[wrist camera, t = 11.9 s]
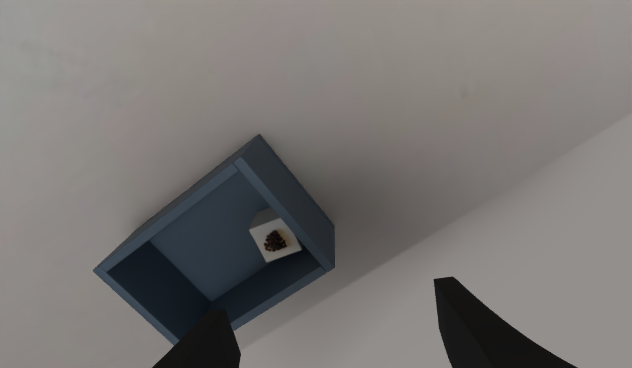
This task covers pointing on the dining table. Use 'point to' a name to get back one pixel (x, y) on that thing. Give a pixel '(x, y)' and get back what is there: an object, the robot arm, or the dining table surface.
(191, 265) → the bin
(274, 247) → the cube with brown bumps
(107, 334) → the dining table surface
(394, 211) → the dining table surface
